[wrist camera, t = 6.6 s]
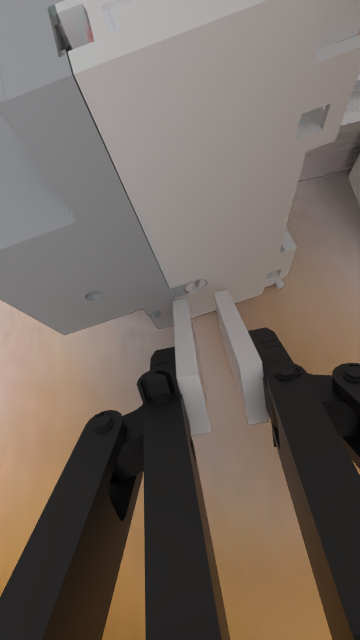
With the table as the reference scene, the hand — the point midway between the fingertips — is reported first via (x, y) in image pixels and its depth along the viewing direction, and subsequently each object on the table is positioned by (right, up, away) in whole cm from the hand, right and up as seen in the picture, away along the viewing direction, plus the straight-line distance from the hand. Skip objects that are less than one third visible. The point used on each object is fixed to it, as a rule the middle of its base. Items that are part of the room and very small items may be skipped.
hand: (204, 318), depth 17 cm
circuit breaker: (-3, +3, +5) cm, 6 cm away
